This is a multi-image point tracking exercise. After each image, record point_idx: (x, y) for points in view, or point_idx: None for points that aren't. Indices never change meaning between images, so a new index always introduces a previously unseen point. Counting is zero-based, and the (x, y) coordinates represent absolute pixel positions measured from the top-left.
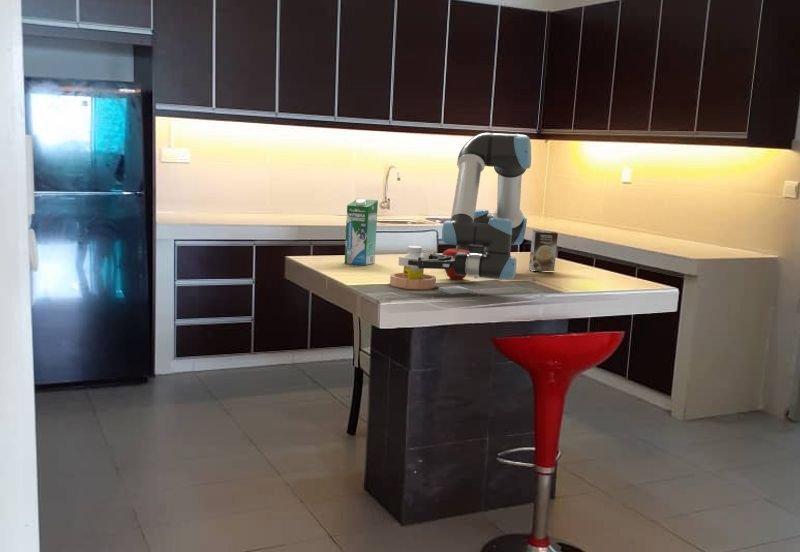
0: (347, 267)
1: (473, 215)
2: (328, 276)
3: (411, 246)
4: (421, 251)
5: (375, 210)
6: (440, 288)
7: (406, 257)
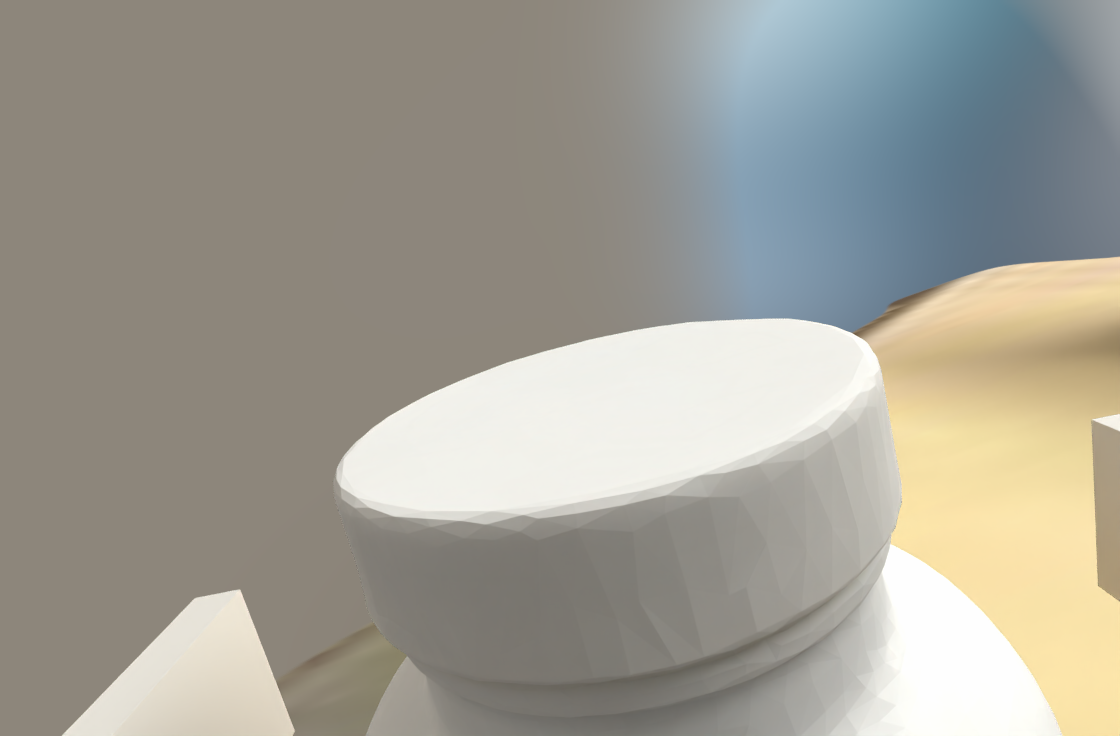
0: (1082, 353)
1: None
2: None
3: (596, 357)
4: (694, 694)
5: None
6: None
7: (123, 703)
